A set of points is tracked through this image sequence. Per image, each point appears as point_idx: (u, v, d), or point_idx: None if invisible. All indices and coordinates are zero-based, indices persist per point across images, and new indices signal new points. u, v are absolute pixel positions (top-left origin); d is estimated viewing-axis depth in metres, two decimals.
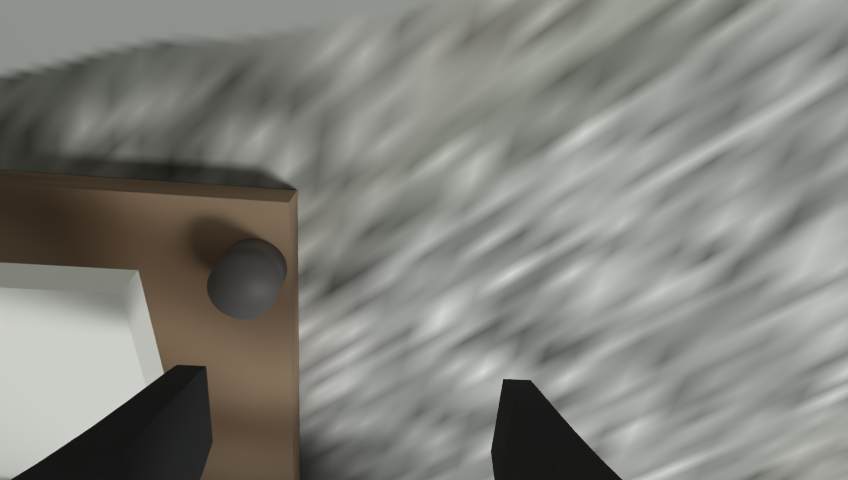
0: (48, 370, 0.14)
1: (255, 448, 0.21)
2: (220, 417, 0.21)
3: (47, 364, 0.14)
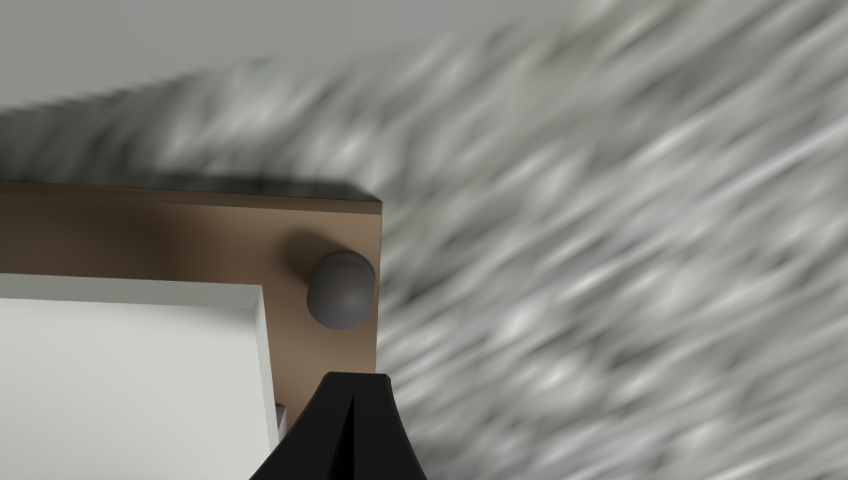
0: (171, 383, 0.14)
1: None
2: None
3: (171, 377, 0.14)
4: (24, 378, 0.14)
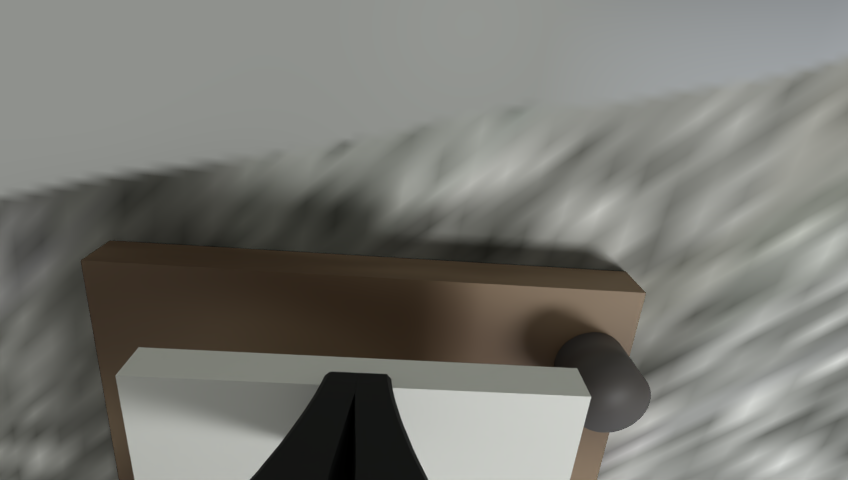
0: None
1: None
2: None
3: None
4: None
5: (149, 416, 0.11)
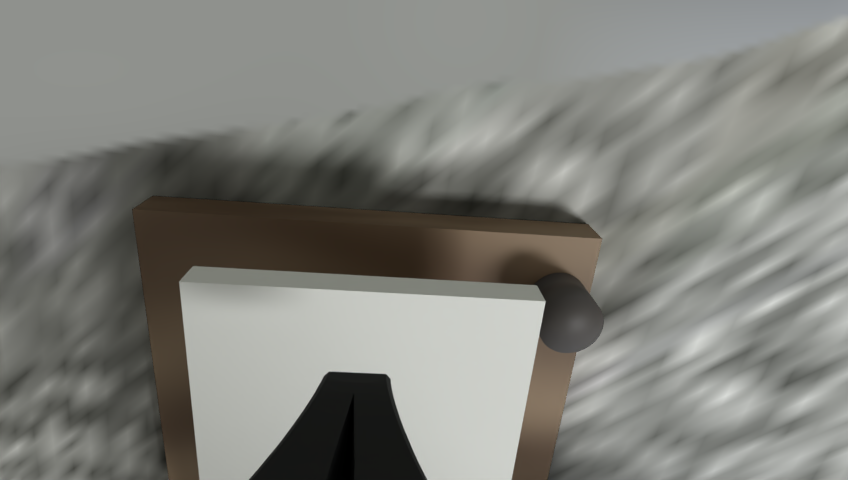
0: (448, 379, 0.15)
1: (513, 471, 0.22)
2: None
3: (450, 373, 0.15)
4: (315, 374, 0.15)
5: (203, 316, 0.14)
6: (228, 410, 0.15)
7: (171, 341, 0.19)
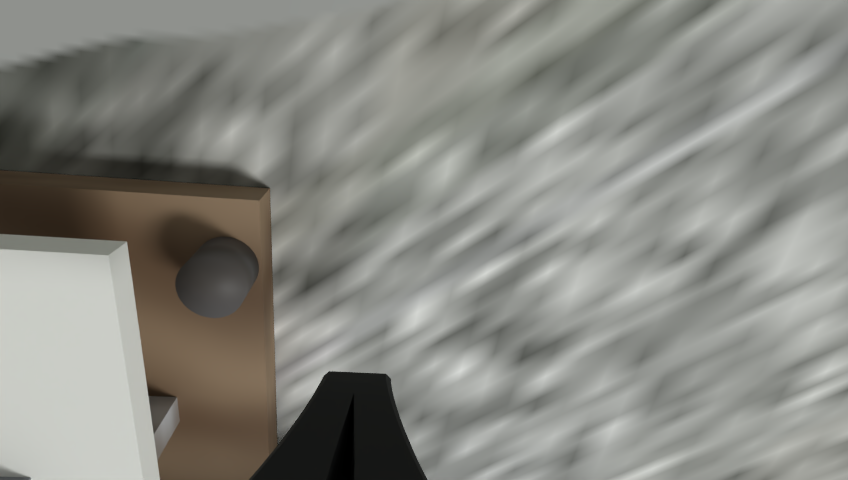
0: (32, 339, 0.15)
1: (231, 447, 0.21)
2: (194, 416, 0.21)
3: (32, 333, 0.15)
4: None
5: None
6: None
7: None
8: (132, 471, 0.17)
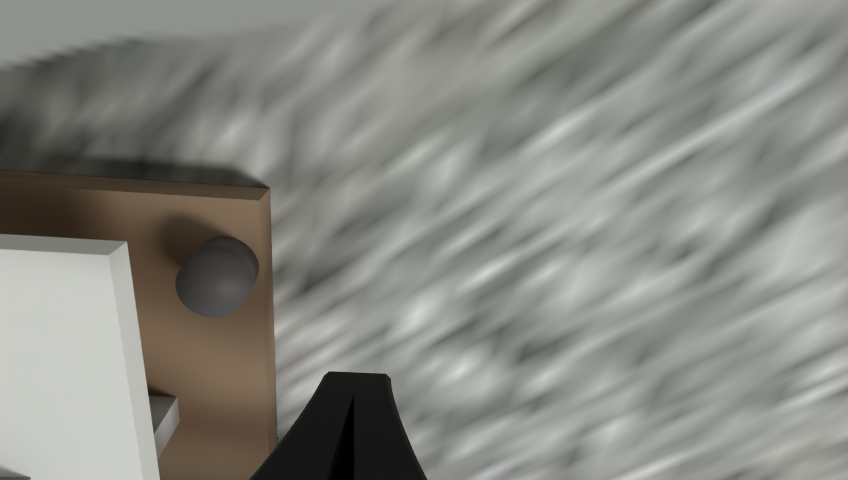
0: (32, 339, 0.15)
1: (231, 447, 0.21)
2: (194, 416, 0.21)
3: (32, 333, 0.15)
4: None
5: None
6: None
7: None
8: (132, 471, 0.17)
